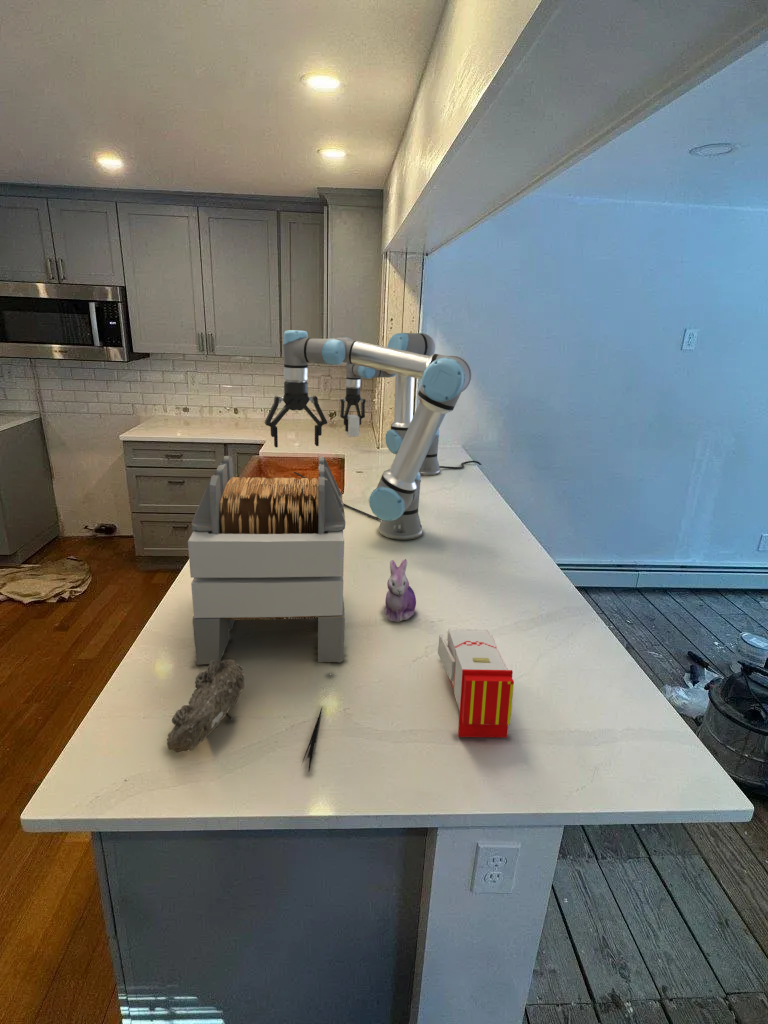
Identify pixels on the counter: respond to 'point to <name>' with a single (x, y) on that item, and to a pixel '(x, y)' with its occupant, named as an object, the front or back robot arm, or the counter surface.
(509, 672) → the toy
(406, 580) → the figurine
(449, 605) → the counter surface
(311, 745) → the feather
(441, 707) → the counter surface
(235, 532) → the rotary card file
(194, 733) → the fossil
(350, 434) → the small box
